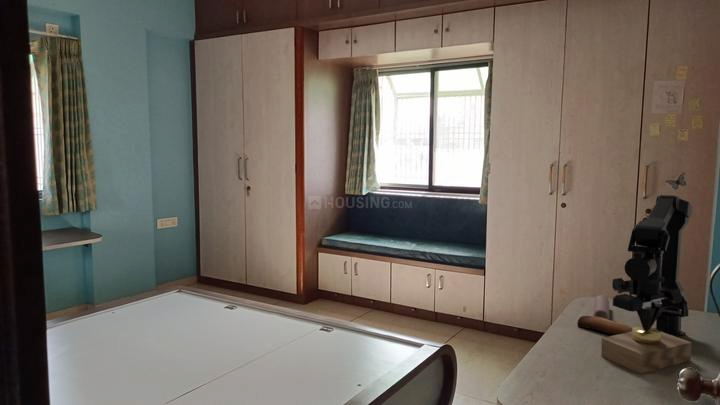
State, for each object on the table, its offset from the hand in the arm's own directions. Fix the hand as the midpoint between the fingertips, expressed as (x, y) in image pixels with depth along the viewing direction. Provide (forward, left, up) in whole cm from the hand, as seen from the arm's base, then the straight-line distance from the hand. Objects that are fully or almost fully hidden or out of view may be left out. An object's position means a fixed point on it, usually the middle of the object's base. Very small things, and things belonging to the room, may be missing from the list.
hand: (646, 330), depth 133 cm
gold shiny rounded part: (0, 0, -7) cm, 7 cm away
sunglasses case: (-8, -18, -8) cm, 21 cm away
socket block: (0, 0, -8) cm, 8 cm away
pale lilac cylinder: (-17, -31, -8) cm, 36 cm away
